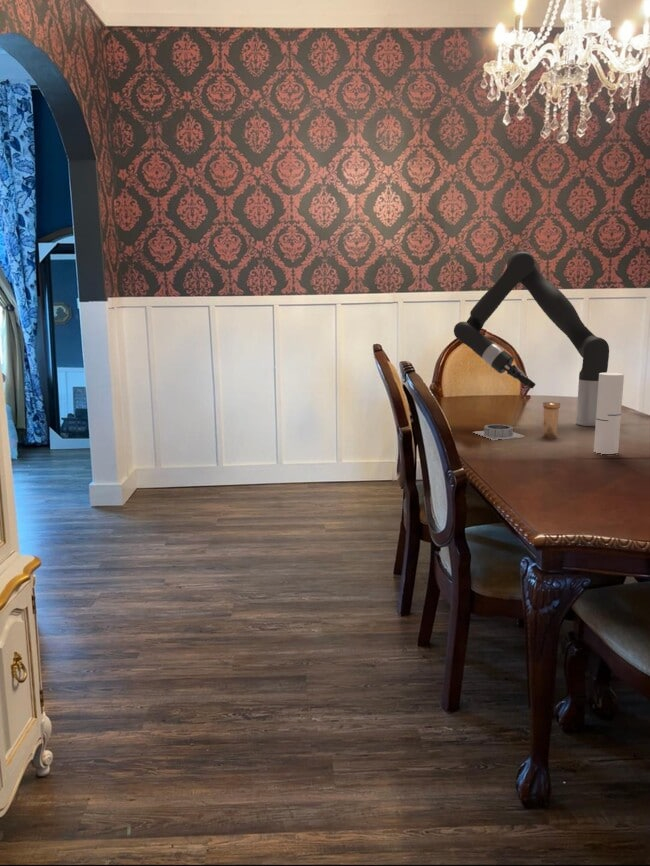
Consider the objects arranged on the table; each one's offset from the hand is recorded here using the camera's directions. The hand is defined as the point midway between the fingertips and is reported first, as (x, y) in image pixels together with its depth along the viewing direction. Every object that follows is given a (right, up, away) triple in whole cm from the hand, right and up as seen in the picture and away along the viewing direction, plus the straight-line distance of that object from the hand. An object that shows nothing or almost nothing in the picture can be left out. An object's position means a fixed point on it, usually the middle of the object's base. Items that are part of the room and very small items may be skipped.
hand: (531, 385), depth 251 cm
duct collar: (-13, -18, -4) cm, 23 cm away
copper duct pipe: (+4, -19, -7) cm, 21 cm away
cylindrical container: (+14, -24, -31) cm, 41 cm away
